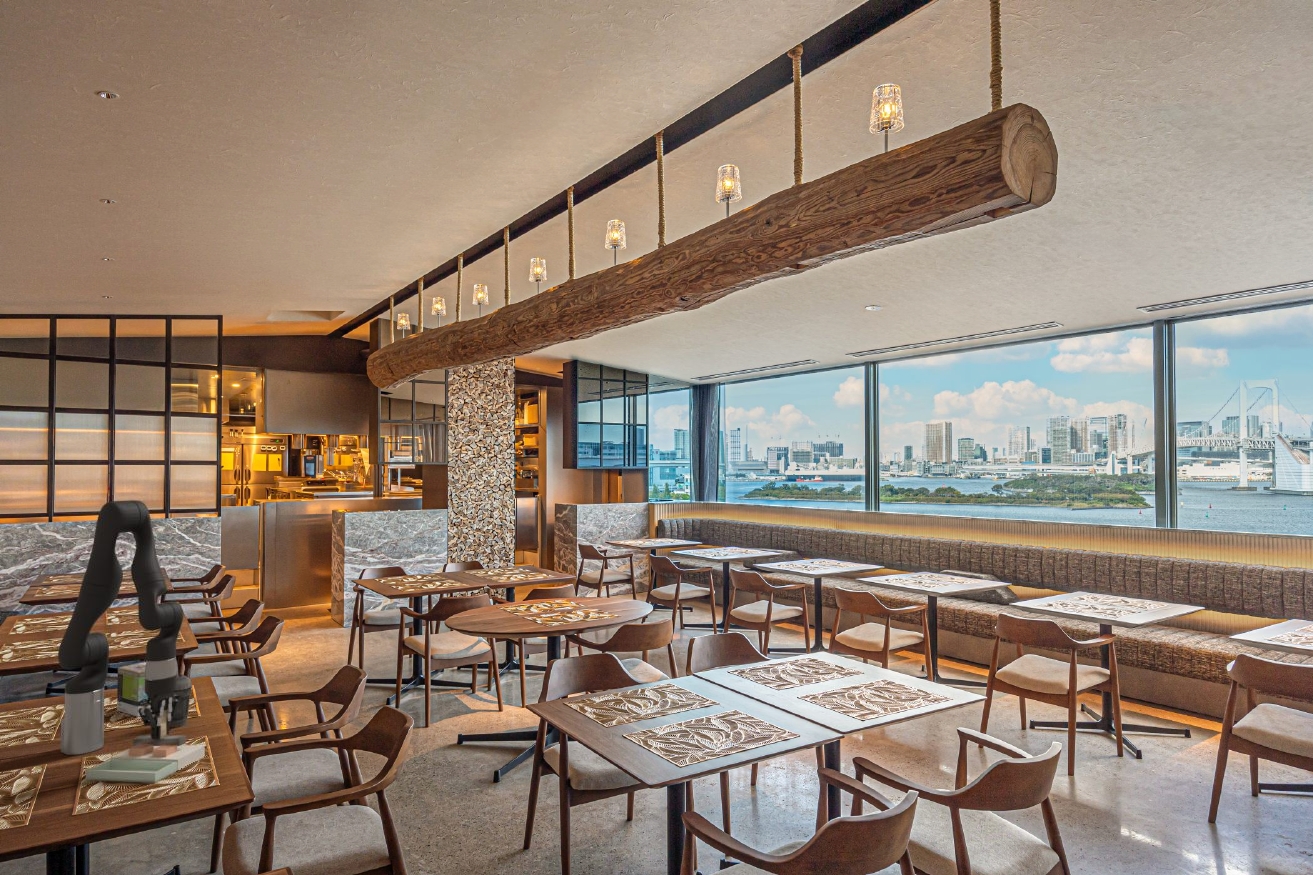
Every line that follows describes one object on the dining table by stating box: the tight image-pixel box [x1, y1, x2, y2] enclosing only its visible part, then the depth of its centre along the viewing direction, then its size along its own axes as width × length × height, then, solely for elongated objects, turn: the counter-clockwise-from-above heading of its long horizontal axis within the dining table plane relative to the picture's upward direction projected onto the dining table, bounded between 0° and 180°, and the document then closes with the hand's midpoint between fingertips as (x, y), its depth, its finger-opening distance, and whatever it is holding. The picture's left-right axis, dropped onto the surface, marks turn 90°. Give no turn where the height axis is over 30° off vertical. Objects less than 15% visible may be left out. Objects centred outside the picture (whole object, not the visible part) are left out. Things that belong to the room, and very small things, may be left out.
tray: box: [85, 758, 178, 784], centre depth 199 cm, size 20×8×2 cm, turn 83°
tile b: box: [153, 744, 177, 757], centre depth 207 cm, size 4×4×2 cm
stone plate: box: [110, 744, 206, 771], centre depth 208 cm, size 20×10×3 cm, turn 83°
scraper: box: [132, 710, 187, 747], centre depth 210 cm, size 14×2×10 cm, turn 84°
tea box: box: [116, 661, 148, 718], centre depth 255 cm, size 15×10×15 cm
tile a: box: [128, 744, 154, 756], centre depth 207 cm, size 4×4×2 cm
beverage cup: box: [169, 660, 193, 728], centre depth 240 cm, size 7×7×20 cm
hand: (160, 736), depth 210 cm, fingers closed on scraper, 2 cm apart
